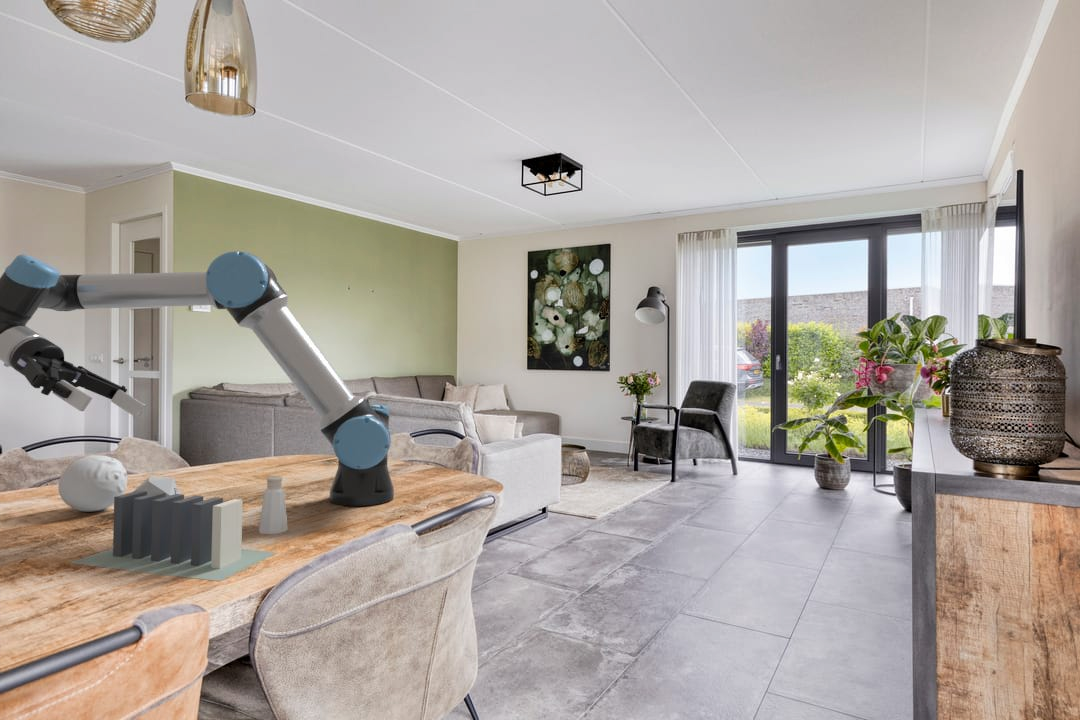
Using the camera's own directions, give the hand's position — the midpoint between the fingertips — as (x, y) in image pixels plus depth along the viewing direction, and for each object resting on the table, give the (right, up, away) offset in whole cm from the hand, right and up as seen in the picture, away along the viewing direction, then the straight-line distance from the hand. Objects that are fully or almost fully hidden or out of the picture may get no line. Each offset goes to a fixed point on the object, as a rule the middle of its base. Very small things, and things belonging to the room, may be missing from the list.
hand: (115, 408), depth 114 cm
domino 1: (+9, -24, -9) cm, 27 cm away
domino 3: (+16, -24, -11) cm, 31 cm away
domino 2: (+13, -24, -10) cm, 29 cm away
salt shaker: (+27, -25, +6) cm, 37 cm away
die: (-3, -24, +17) cm, 30 cm away
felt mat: (+18, -25, -11) cm, 33 cm away
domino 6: (+28, -25, -13) cm, 39 cm away
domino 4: (+20, -24, -12) cm, 34 cm away
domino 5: (+24, -24, -12) cm, 36 cm away
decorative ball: (-17, -24, +18) cm, 34 cm away
